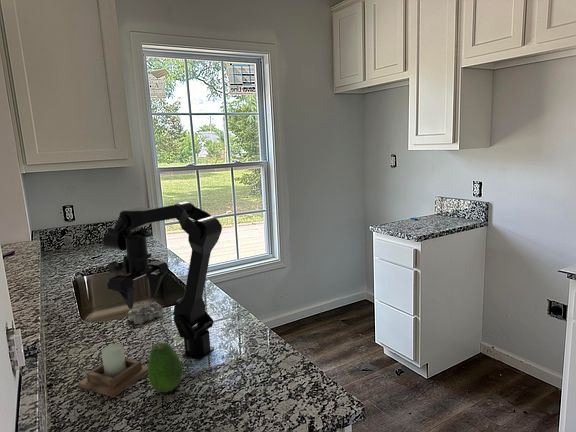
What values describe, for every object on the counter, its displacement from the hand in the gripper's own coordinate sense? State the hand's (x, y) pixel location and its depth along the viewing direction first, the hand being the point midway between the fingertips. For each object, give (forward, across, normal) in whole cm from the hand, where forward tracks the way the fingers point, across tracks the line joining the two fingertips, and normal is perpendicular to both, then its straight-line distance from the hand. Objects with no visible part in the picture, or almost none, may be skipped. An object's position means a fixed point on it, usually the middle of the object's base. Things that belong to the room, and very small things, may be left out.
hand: (142, 302), depth 117 cm
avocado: (+12, +18, +23) cm, 32 cm away
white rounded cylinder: (+11, +18, +7) cm, 22 cm away
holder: (+12, +18, +7) cm, 23 cm away
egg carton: (+13, -13, -12) cm, 22 cm away
